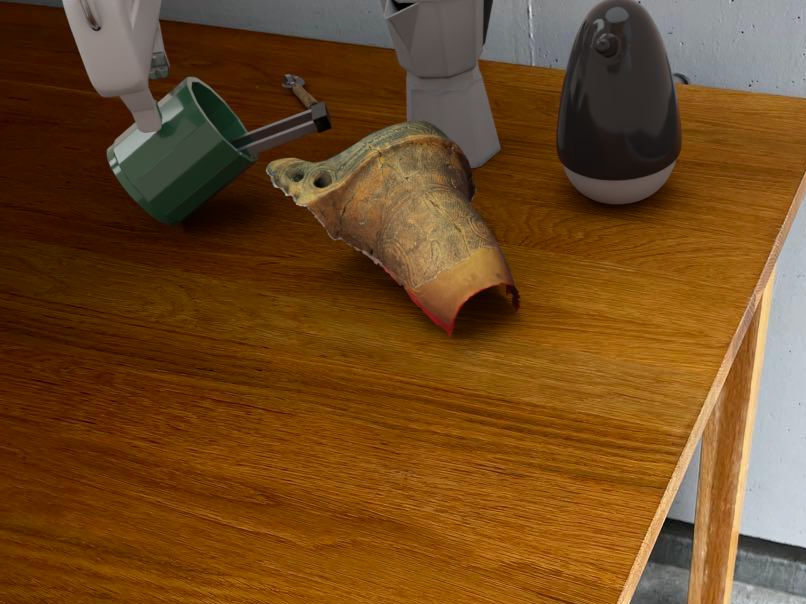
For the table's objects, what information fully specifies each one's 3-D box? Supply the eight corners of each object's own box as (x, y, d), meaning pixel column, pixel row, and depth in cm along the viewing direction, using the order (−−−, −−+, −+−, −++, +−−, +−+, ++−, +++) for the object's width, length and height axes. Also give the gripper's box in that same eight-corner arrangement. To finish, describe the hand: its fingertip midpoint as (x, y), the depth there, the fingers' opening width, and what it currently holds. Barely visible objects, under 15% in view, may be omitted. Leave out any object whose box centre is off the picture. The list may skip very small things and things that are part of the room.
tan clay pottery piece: (396, 272, 66) (274, 88, 72) (352, 391, 75) (246, 217, 81) (597, 248, 77) (476, 88, 83) (539, 355, 85) (433, 202, 91)
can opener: (322, 113, 101) (319, 101, 101) (298, 118, 101) (295, 107, 100) (300, 77, 107) (297, 65, 106) (278, 82, 107) (275, 71, 106)
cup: (101, 171, 82) (185, 99, 80) (110, 131, 88) (189, 62, 86) (178, 242, 87) (259, 176, 85) (182, 199, 93) (258, 137, 91)
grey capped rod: (148, 181, 86) (326, 114, 85) (149, 166, 88) (324, 101, 87) (155, 194, 87) (332, 128, 86) (157, 179, 89) (329, 114, 88)
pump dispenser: (544, 216, 86) (530, 26, 75) (575, 154, 93) (567, -30, 82) (667, 227, 84) (672, 33, 73) (690, 162, 91) (697, -26, 79)
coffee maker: (453, 192, 90) (421, -33, 77) (373, 171, 93) (329, -48, 80) (544, 116, 98) (529, -99, 85) (467, 99, 102) (441, -111, 88)
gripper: (117, -45, 68) (189, 155, 78) (141, -138, 82) (200, 43, 92) (19, -29, 68) (104, 170, 78) (60, -125, 81) (128, 55, 92)
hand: (156, 100), depth 85 cm, fingers open, 8 cm apart
